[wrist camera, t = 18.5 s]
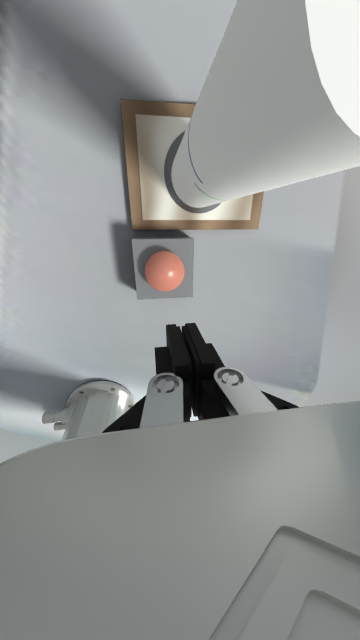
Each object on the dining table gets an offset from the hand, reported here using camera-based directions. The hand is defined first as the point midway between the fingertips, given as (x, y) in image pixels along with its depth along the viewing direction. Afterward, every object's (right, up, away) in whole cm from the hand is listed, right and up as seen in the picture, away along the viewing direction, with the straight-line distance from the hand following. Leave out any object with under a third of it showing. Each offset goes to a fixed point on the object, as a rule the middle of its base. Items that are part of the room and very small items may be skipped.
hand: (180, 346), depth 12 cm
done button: (-2, +9, +18) cm, 21 cm away
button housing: (-3, +10, +19) cm, 22 cm away
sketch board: (+2, +21, +15) cm, 26 cm away
